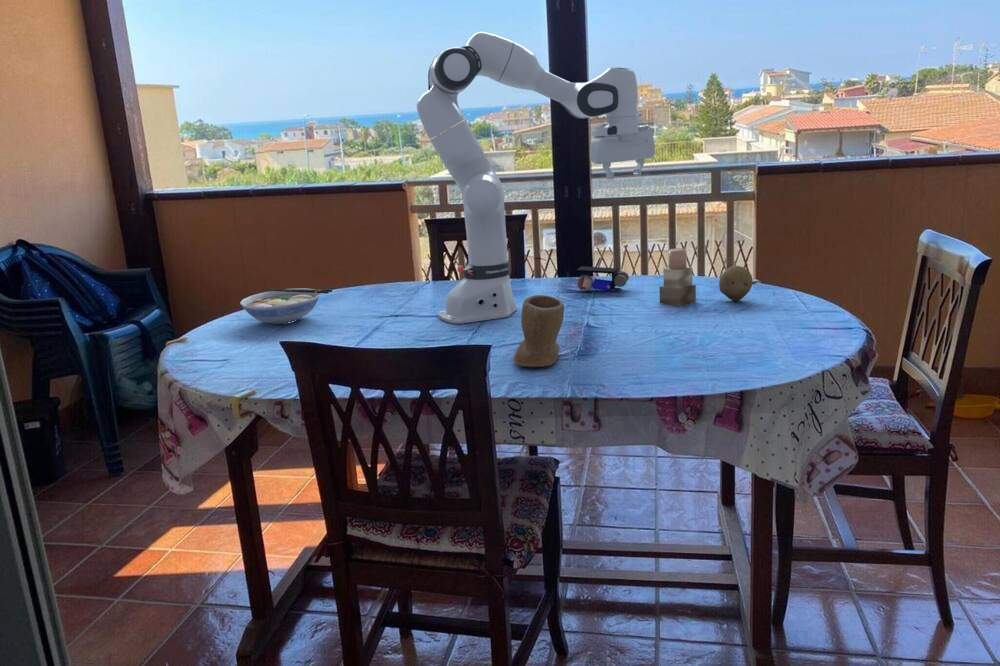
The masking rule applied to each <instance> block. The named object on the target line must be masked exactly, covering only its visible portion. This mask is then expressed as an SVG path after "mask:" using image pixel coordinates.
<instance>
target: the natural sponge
mask: <svg viewBox="0 0 1000 666" xmlns="http://www.w3.org/2000/svg"><path fill="white" fill-rule="evenodd" d="M753 281H754V279H753V276H752V273H750V271H749V270H748V269H747V268H746V267H743V266H742V265H732V266H729V267H728V268H727V269H725V270H724V272H723V273H721V276H720V278H719V282H718V286H719V287H718V288H719V291H720V292H721V294H722V295H724V296H725V297H726V298H727V299H729V300H731V301H733V302H738V301H741V300H742V299H744V298H745V296H747V294H748V293H749V292H750V291H751V288H752V287H753Z"/></svg>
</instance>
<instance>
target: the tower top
mask: <svg viewBox="0 0 1000 666" xmlns="http://www.w3.org/2000/svg"><path fill="white" fill-rule="evenodd" d="M692 284H693V267H692V266H687V268H686V269H680V270H673V269H669V266H667V267H664V268H663V285H664V286H667V287H672V288H678V289H679V288H683V287H687V286H690V285H692Z"/></svg>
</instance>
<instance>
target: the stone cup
mask: <svg viewBox="0 0 1000 666" xmlns="http://www.w3.org/2000/svg"><path fill="white" fill-rule="evenodd" d="M564 313H565V305H564V303H563V302H562V301H561V300H560V299H559V298H556V296H555V297H554V296H552V295H551V296H550V295H544V294H535V295H531V296H528V297H527V298H526V299H524V301H523V303H522V307H521V317H520V318H521V320H520V321H521V322H520V323H521V324H520V325H521V329H522V333H523V337H524V340H522V341H521V342H520V343H519V345H518V347H517V350H516V351H515V353H514V356H513V359H512V361H513V363H514V364H515V365H517V366H519V367H527V368H539V367H541V368H542V367H543V368H544V367H549V366H551V365H553V364H554V363H555V362H556V361H557V359H558V357H559V352H560V348H561V346H560V344H558V343H557V338H558V336H559V333H560V330H561V328H562V324H563V321H564Z"/></svg>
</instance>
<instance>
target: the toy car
mask: <svg viewBox="0 0 1000 666" xmlns="http://www.w3.org/2000/svg"><path fill="white" fill-rule="evenodd" d="M576 273H594V274H598V273H599V274H611V280H608V279H600V278H594V279H593V277H591V275H589V274H588V275H587V274H583V275H581V276H580V277H578V279H577V283H576V284H577V287H578V288H579V290H580V291H582V292H588V291H591V290H592V289H594V290H601V291H610V292H612V293H613V292H614V293H620V292H621V291H622V290H623V289H622V288H623V287H625V286H626V285H627V283H628V281H629V279H630V278H629V277H630V276H629V274H628V273H627V272H626V271H619V272H618V267H600V266H599V267H598V266H583V265H582V266H580V267H579V268H577V269H576Z"/></svg>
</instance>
